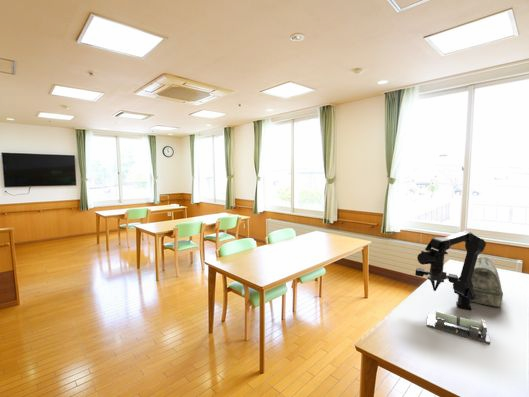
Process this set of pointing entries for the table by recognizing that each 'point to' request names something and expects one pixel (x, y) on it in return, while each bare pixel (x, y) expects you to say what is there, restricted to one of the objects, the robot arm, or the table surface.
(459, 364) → the table surface
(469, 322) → the tube
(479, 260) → the lunch bag
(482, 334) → the saddle plate
